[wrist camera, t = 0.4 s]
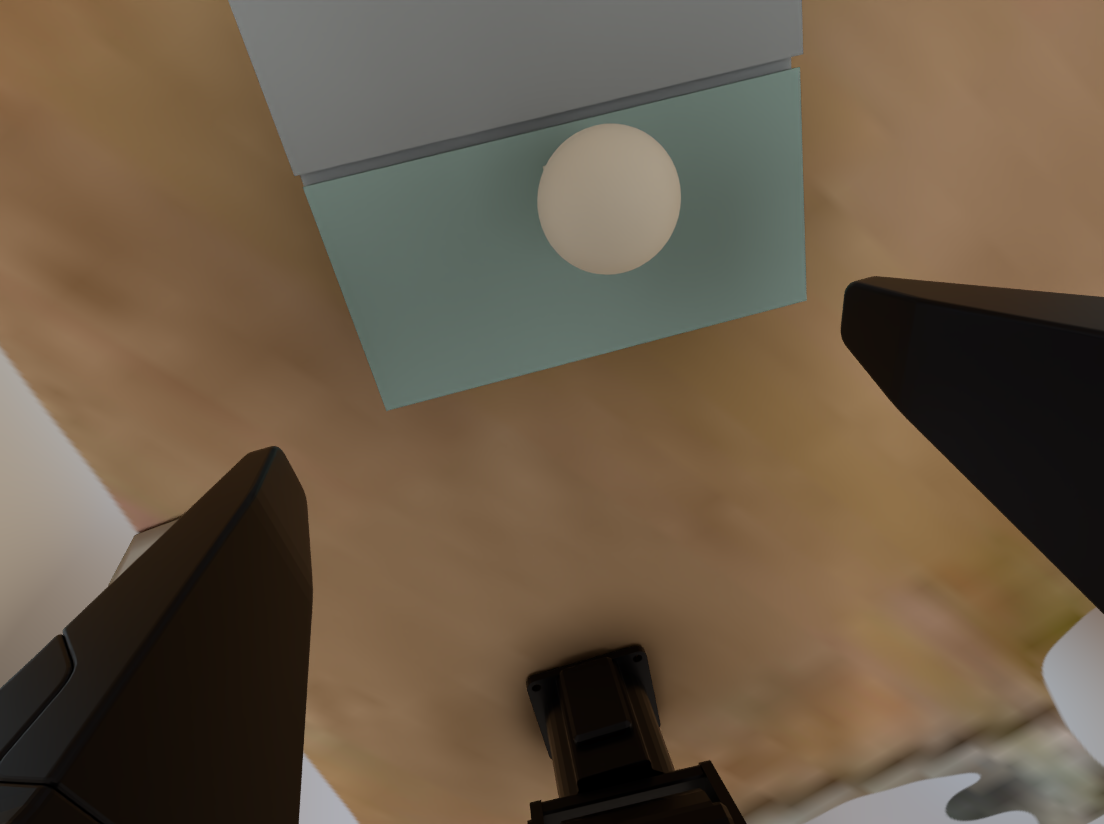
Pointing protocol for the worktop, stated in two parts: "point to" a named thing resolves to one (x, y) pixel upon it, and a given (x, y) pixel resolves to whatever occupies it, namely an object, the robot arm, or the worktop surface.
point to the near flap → (571, 238)
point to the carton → (487, 67)
